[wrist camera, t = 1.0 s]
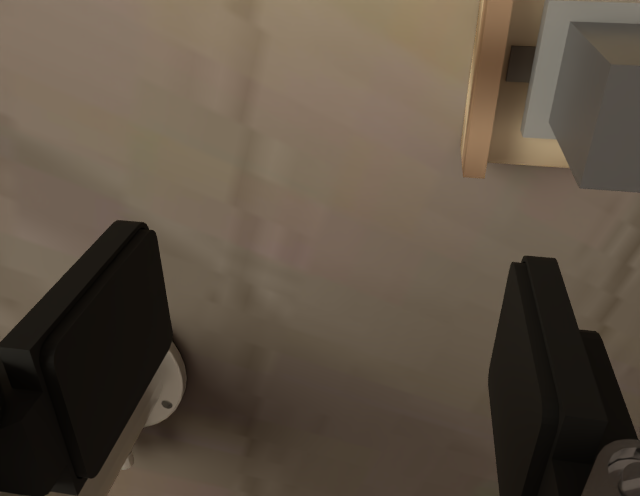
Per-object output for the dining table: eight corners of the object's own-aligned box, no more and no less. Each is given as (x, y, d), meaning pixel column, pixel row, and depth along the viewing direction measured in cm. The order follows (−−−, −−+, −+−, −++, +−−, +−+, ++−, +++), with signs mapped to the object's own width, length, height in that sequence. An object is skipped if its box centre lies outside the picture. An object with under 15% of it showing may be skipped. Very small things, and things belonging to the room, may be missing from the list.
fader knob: (629, 136, 28) (691, 216, 21) (520, 129, 29) (546, 205, 22) (669, 0, 25) (756, 43, 18) (545, -4, 26) (584, 37, 19)
